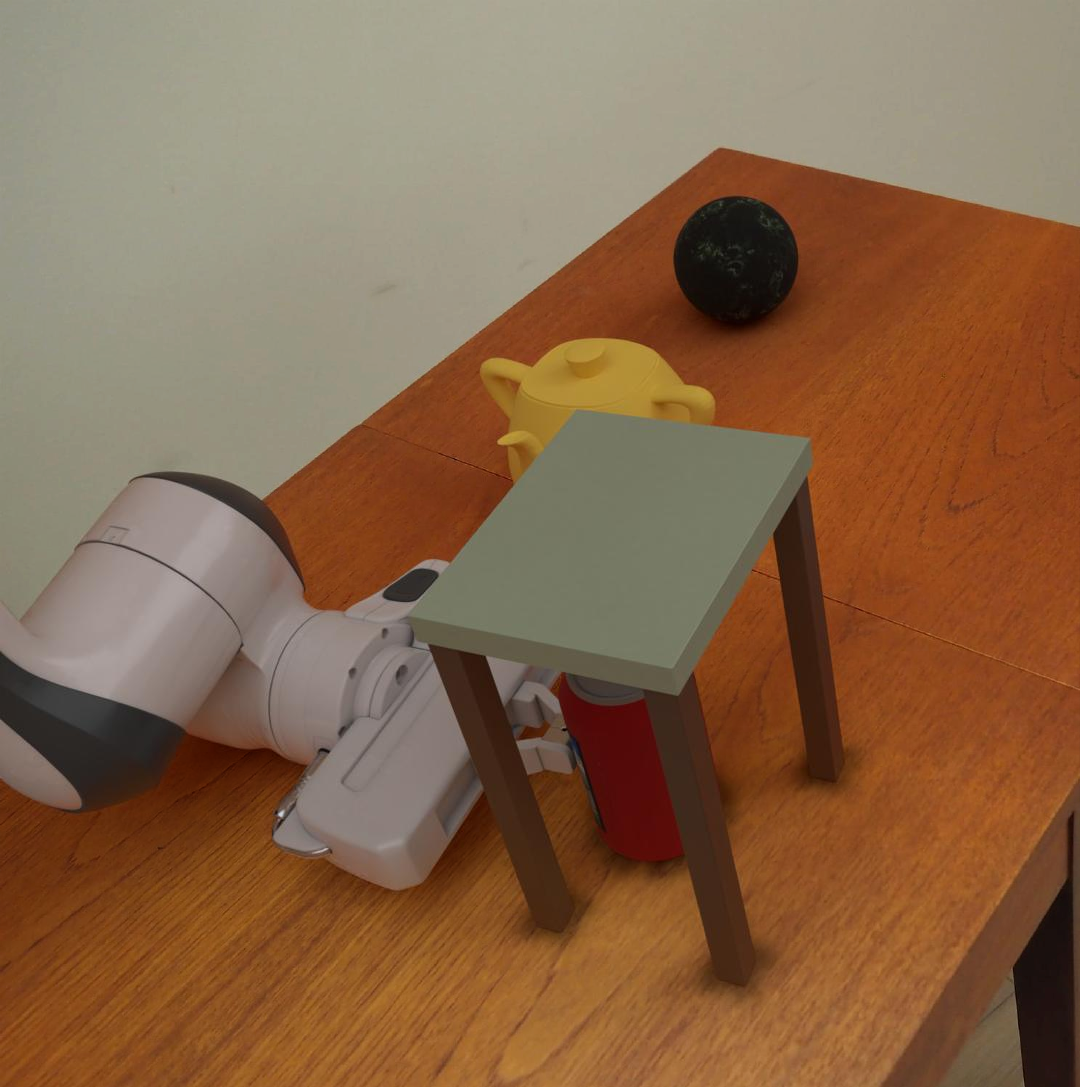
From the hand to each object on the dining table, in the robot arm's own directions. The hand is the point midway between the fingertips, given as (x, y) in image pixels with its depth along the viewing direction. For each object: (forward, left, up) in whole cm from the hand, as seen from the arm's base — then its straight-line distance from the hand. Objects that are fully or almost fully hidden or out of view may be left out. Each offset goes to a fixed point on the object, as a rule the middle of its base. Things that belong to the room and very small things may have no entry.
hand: (583, 744), depth 71 cm
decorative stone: (+33, +40, -6) cm, 52 cm away
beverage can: (+2, -2, -6) cm, 6 cm away
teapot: (+12, +24, -6) cm, 27 cm away
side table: (+3, -5, -5) cm, 8 cm away
